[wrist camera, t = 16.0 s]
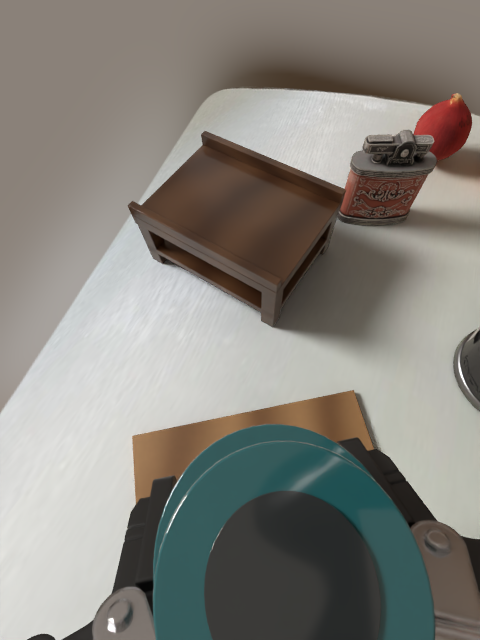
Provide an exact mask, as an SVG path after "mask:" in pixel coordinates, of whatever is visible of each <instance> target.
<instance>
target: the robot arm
mask: <svg viewBox="0 0 480 640" xmlns="http://www.w3.org/2000/svg"><path fill="white" fill-rule="evenodd" d="M453 364H454V373H455V377H456V380H457V383H458V385H459V387H460V389H461V391H462V392H463V394H464V395H465V397H466V398H467V399H468V401H469V402H470V403H471V404H472V405H473V406H474V407H475V408H476V409H477V410H478V411H480V326H479V328H478V329H477V330H475V331H473V332H472V333H470V334H469V335H468V336H466V337H465V338H464V339H463V340H462V341H461V342H460V344H459V345H458V347H457V349H456V352H455V355H454V362H453ZM337 443H338V444H339V445H340V446H342V447H343V448H344V449H346V450H347V451H348V452H350V453H351V454H352V455H353V456H354V457H355V458H356V459H357V460H358V461H360V462H361V463H362V464H363V465H364V467H365V468H366V469H367V470H368V471H369V472H370V474H371V475H372V476H373V477H374V479H375V480H376V481H377V483H378V484H379V485H380V486H381V487H382V488H383V490H384V491H385V492H386V493H387V494H388V495H389V497H390V498H391V499H392V500H393V502H394V503H395V504H396V506H397V507H398V509H399V510H400V512H401V513H402V515H403V516H404V518H405V520H406V521H407V523H408V525H409V527H410V529H411V531H412V532H413V534H414V536H415V539H416V541H417V544H418V546H419V548H420V551H421V553H422V556H423V559H424V562H425V566H426V569H427V572H428V576H429V580H430V585H431V590H432V595H433V601H434V613H435V640H480V539H471V538H466V537H463V536H460V535H459V534H458V533H457V532H456V531H455V530H454V529H452V528H451V527H449V526H448V525H446V524H443V523H441V522H438V521H437V520H436V519H435V517H434V516H433V515H432V513H431V512H430V511H429V509H428V508H427V507H426V505H425V504H424V503H423V501H422V500H421V499H420V497H419V496H418V495H417V493H416V492H415V491H414V489H413V488H412V487H411V485H410V484H409V483H408V481H406V479H405V477H404V476H403V475H402V473H401V472H399V470H398V468H397V467H396V465H395V464H394V463H393V461H392V460H391V459H390V458H389V457H388V456H386V455H385V454H383V453H382V452H380V451H379V450H378V449H373V450H369V451H367V449H366V448H365V446H364V445H363V443H362V442H361V440H360V439H359V438H358V437H355V438H350V439H346V440H341V441H337ZM176 483H177V479H176V476H175V475H173V476H168V477H163V478H158V479H154V480H153V483H152V488H151V493H150V497H145V498H141V499H139V501H138V502H137V504H136V505H135V507H134V508H133V510H132V512H131V514H130V518H129V523H128V527H127V528H128V530H127V531H126V535H125V542H124V544H123V548H122V553H121V557H120V561H119V566H118V570H117V574H116V579H115V583H114V587H113V591H112V594H111V595H110V596H109V597H108V598H107V599H106V600H105V601H104V602H103V603H102V605H101V606H100V608H99V609H98V611H97V613H96V615H95V618H94V620H93V621H91V622H90V623H89V624H88V625H86V626H84V627H83V628H81V629H80V630H78V631H76V632H74V633H73V634H71V635H69V636H67V637H66V638H64V639H62V640H156V639H155V630H154V622H153V587H154V584H153V557H154V547H155V540H156V535H157V530H158V525H159V522H160V519H161V516H162V513H163V509H164V506H165V504H166V502H167V500H168V498H169V495H170V493H171V491H172V489H173V488H174V486H175V484H176ZM27 640H55V638H54V637H52V636H51V635H48V634H39V635H36V636H33V637H31V638H29V639H27Z"/></svg>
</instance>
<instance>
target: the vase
mask: <svg viewBox="0 0 480 640" xmlns="http://www.w3.org/2000/svg"><path fill="white" fill-rule="evenodd" d="M153 584H154V587H153V622H154V630H155V639H156V640H435V613H434V601H433V595H432V590H431V585H430V580H429V576H428V572H427V569H426V566H425V562H424V559H423V556H422V553H421V551H420V548H419V546H418V544H417V541H416V539H415V536H414V534H413V532H412V531H411V529H410V527H409V525H408V523H407V521H406V520H405V518H404V516H403V515H402V513H401V512H400V510H399V509H398V507H397V506H396V504H395V503H394V502H393V500H392V499H391V498H390V497H389V495H388V494H387V493H386V492H385V491H384V490H383V488H382V487H381V486H380V485H379V484H378V483H377V481H376V480H375V479H374V477H373V476H372V475H371V474H370V472H369V471H368V470H367V469H366V468H365V467H364V465H363V464H362V463H361V462H360V461H358V460H357V459H356V458H355V457H354V456H353V455H352V454H351V453H350V452H348V451H347V450H346V449H344V448H343V447H342V446H340V445H339V444H338V443H336V442H334V441H332V440H331V439H329V438H327V437H325V436H323V435H321V434H319V433H316V432H314V431H311V430H308V429H305V428H301V427H297V426H292V425H284V424H264V425H257V426H251V427H247V428H244V429H240V430H238V431H235V432H233V433H231V434H228V435H226V436H224V437H222V438H221V439H219V440H217V441H216V442H214V443H213V444H211V445H210V446H209V447H207V448H206V449H205V450H204V451H202V452H201V453H200V454H199V455H198V456H197V457H196V458H195V459H194V460H193V461H192V462H191V463H190V464H189V466H188V467H187V468H186V470H185V471H184V472H183V473H182V475H181V476H180V478H179V479H178V481H177V483H176V484H175V486H174V488H173V489H172V491H171V493H170V495H169V498H168V500H167V502H166V504H165V506H164V509H163V513H162V516H161V519H160V522H159V525H158V530H157V535H156V540H155V547H154V557H153Z"/></svg>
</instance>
